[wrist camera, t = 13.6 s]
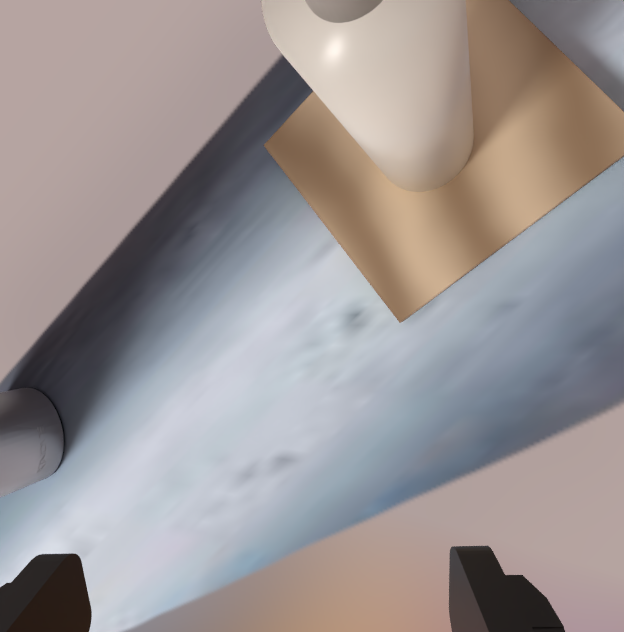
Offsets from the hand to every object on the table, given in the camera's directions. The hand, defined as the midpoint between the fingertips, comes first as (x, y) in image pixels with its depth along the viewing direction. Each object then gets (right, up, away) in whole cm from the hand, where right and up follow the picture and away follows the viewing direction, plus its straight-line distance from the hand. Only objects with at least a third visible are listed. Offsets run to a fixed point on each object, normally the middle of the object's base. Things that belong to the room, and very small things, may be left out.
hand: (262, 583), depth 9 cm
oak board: (+8, +16, +16) cm, 24 cm away
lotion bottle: (+8, +16, +15) cm, 23 cm away
